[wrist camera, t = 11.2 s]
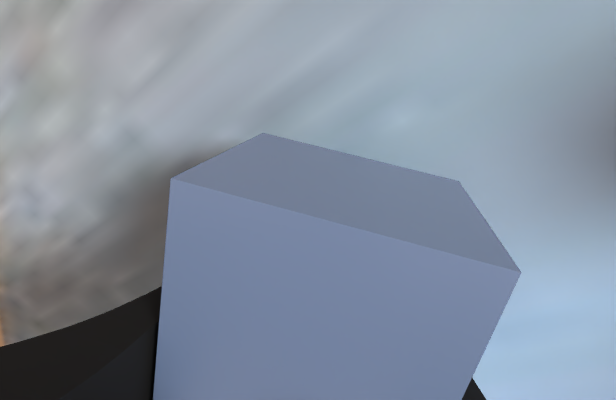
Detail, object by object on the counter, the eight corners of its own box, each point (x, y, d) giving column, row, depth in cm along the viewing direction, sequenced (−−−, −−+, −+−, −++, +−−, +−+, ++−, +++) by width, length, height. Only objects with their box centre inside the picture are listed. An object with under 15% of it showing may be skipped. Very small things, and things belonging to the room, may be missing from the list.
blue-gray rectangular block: (377, 404, 14) (373, 587, 9) (226, 356, 14) (144, 501, 9) (458, 181, 11) (521, 272, 6) (262, 132, 11) (170, 178, 6)
